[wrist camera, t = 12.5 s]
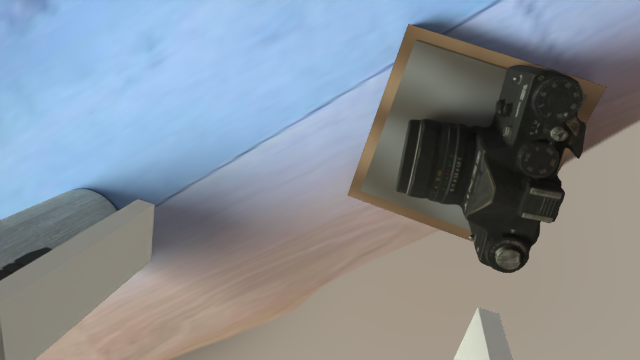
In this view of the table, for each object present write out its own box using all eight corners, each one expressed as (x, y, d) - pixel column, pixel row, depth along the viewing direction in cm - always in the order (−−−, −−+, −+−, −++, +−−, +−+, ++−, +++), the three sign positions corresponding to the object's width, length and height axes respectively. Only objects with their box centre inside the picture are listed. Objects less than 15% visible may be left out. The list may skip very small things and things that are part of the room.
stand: (408, 25, 35) (408, 24, 32) (592, 83, 33) (607, 87, 31) (351, 185, 41) (347, 196, 38) (504, 241, 39) (511, 256, 37)
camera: (424, 48, 33) (428, 50, 23) (562, 70, 31) (625, 82, 22) (388, 202, 38) (380, 254, 28) (506, 228, 36) (538, 293, 27)
